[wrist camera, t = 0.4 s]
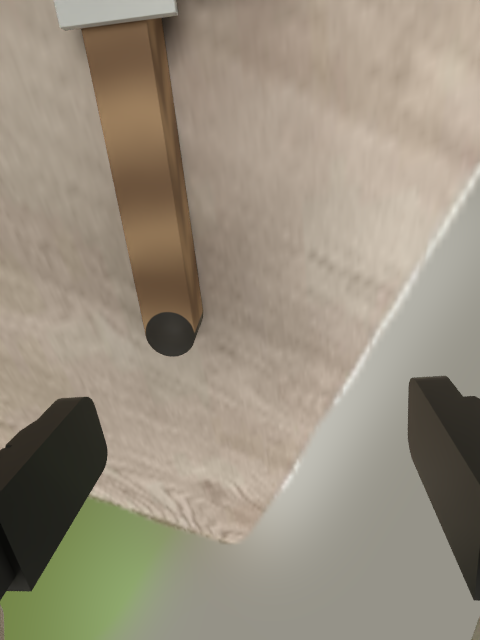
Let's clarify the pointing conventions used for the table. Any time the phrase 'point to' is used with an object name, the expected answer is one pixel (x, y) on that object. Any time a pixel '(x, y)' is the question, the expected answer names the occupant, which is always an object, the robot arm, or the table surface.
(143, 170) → the leg
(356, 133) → the table surface
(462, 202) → the table surface
